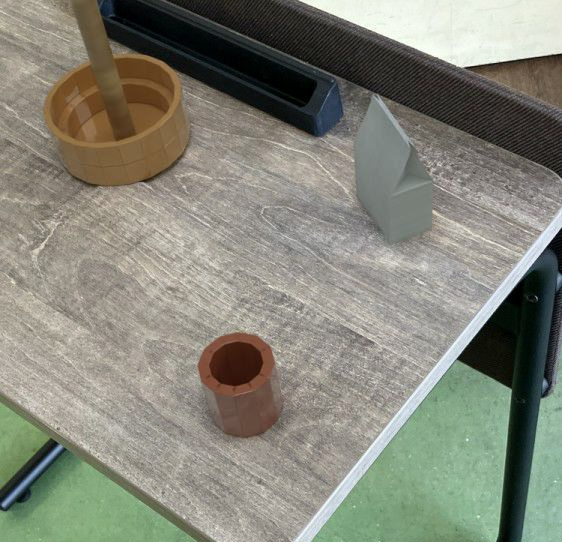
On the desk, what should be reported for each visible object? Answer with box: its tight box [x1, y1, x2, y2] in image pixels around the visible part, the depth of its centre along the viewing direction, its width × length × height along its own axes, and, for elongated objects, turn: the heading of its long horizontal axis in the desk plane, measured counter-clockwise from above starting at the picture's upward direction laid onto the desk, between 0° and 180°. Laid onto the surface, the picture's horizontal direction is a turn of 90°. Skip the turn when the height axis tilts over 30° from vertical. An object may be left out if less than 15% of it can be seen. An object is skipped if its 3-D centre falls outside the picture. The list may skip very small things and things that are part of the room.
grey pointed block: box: [353, 93, 435, 246], centre depth 75 cm, size 4×7×10 cm, turn 21°
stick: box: [69, 0, 136, 141], centre depth 81 cm, size 2×2×16 cm
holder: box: [197, 331, 284, 438], centre depth 68 cm, size 5×5×6 cm
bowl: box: [42, 52, 191, 187], centre depth 86 cm, size 12×12×5 cm
